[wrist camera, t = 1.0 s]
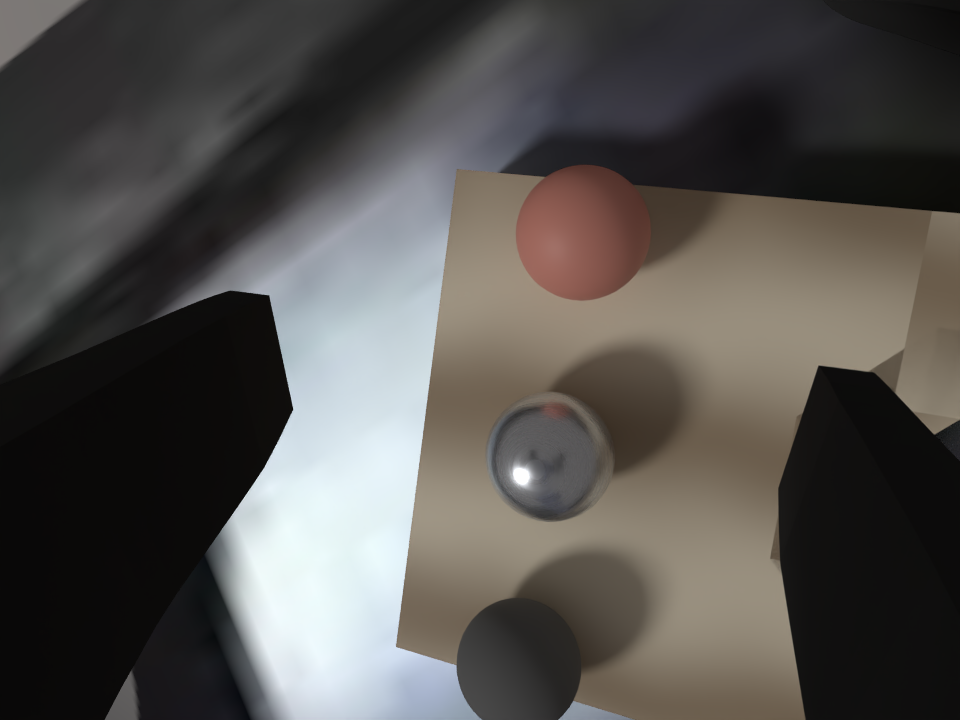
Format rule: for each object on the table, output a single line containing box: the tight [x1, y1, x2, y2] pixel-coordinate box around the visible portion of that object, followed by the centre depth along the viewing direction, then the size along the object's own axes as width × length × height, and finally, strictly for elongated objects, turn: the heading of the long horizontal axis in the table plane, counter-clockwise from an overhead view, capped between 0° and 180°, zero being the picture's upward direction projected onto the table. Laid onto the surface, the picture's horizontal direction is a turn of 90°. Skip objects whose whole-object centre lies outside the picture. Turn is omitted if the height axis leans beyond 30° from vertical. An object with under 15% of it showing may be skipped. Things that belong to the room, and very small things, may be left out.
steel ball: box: [485, 392, 615, 522], centre depth 18 cm, size 3×3×3 cm
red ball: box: [516, 165, 651, 301], centre depth 17 cm, size 3×3×3 cm
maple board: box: [396, 169, 960, 720], centre depth 19 cm, size 14×20×2 cm
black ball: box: [457, 598, 581, 720], centre depth 18 cm, size 3×3×3 cm
